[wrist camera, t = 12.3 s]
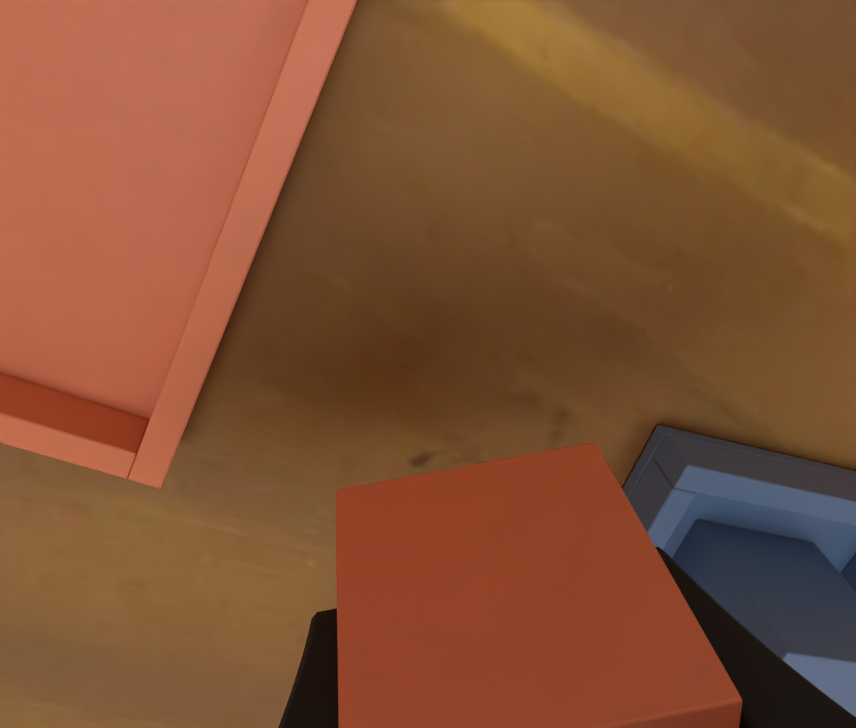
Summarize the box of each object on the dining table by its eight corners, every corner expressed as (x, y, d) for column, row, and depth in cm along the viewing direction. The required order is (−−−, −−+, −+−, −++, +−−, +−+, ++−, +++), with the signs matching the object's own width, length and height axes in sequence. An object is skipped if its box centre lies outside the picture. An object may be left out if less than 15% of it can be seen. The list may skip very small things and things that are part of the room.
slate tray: (656, 423, 21) (687, 465, 19) (912, 483, 23) (960, 525, 21) (532, 650, 25) (547, 702, 23) (761, 681, 27) (790, 729, 25)
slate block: (696, 518, 22) (787, 653, 18) (813, 541, 23) (927, 673, 19) (632, 621, 24) (701, 766, 19) (744, 638, 25) (832, 778, 21)
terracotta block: (596, 440, 12) (744, 700, 8) (600, 620, 14) (718, 902, 10) (335, 488, 12) (338, 782, 8) (379, 664, 14) (401, 969, 10)
